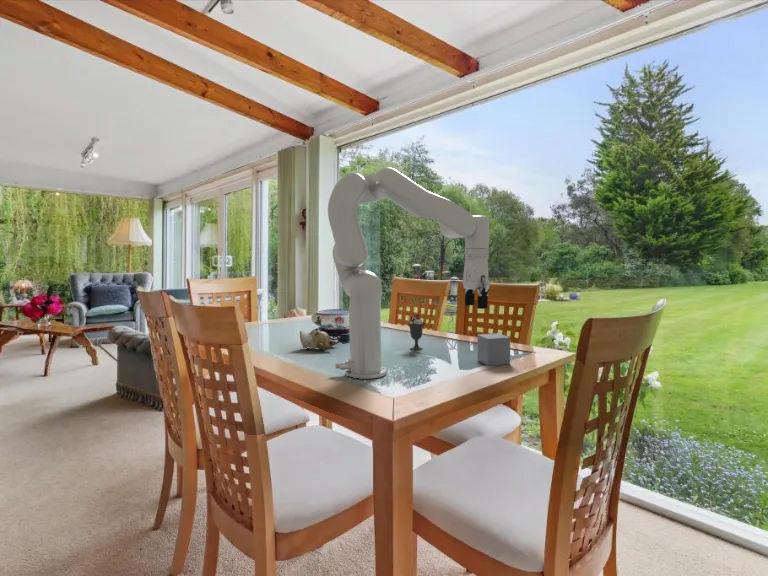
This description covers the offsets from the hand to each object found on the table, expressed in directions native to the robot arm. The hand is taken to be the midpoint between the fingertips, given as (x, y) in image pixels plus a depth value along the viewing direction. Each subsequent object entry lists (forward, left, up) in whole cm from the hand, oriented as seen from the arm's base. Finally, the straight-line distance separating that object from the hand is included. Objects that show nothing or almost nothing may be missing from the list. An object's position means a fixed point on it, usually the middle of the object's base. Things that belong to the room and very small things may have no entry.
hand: (475, 306), depth 141 cm
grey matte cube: (+6, -1, -19) cm, 20 cm away
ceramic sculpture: (-49, +38, -19) cm, 65 cm away
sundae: (-12, +26, -19) cm, 34 cm away
